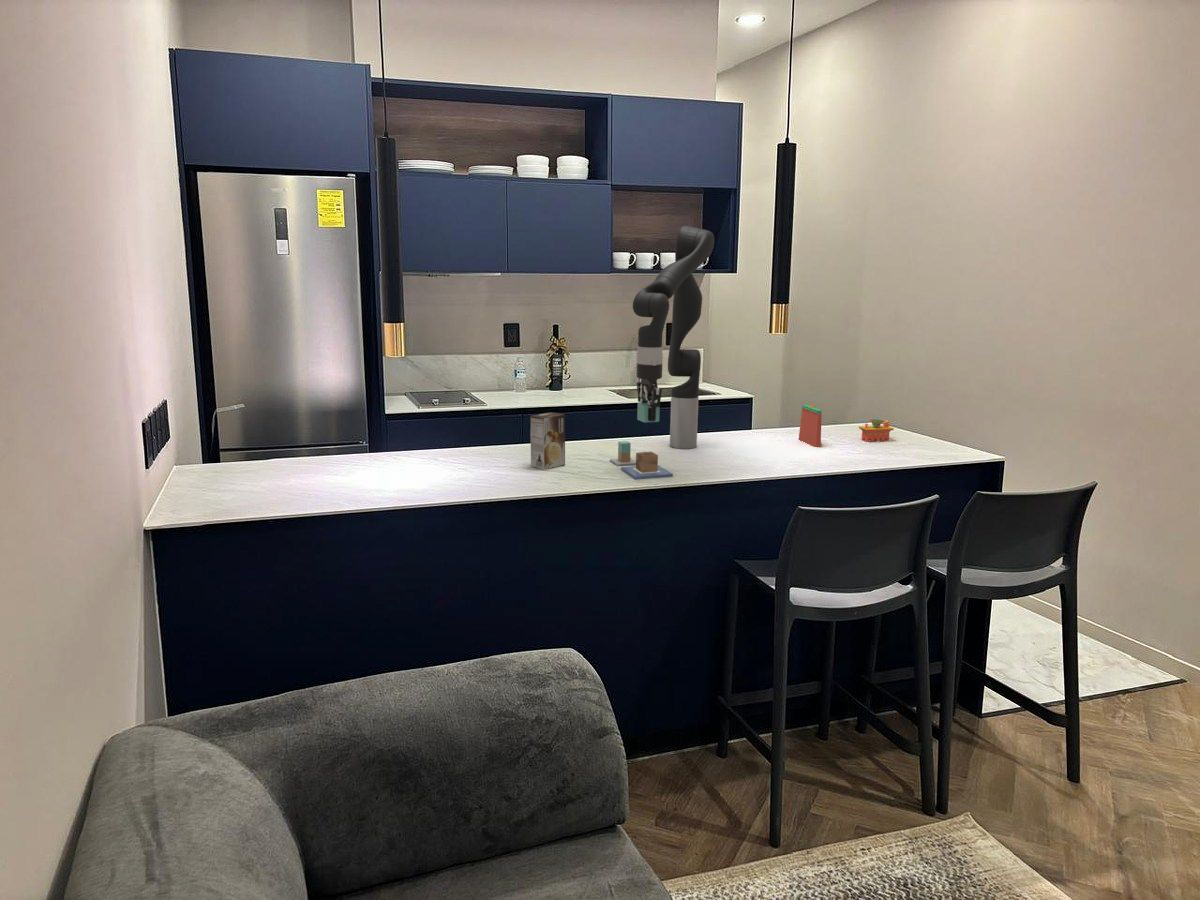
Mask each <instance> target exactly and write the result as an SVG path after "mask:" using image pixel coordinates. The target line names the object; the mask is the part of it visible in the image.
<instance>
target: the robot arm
mask: <svg viewBox="0 0 1200 900" xmlns="http://www.w3.org/2000/svg"><path fill="white" fill-rule="evenodd" d="M676 233H677V234H676V238H675V246H674V248H675V250H674V258H675V260H674V262H672V263H669V264H667V265H666V266H665V267H663V268H662V270H661V271H660V272H659V274H657V276H656V277H655V279H654V280H653V281H652V282H650V283H649V284H648V285H646V286H645V287H643V288H642V289H641V290H640V291H638V292H637V293H636V294H635V296H634V299H633V301H632V310H633V313H634V314H635V315H636V316H638V317H641V318H652V320H651V322H650V323H649V324H647V325H642V326H640V327H639V328H638V332H637V337H638V339H637V352H636V378H637V379H639V380H640V381H637V382H636V390H637V403H647V402H648V408H649V409H648V421H655V420H656V408H657V407H660V406H661V400H662V391H663V389H662V387H658V380H660V379H662V378H663V358H664V357H663V355H664V353H663V332H664V329H665V324H666V322H667V321H666V320H667V318H668V315H669V311H670V301H669V300H670V299H671V298H672V297H673V299H672V319H671V334H670V343H669V348H668V349H669V350H668V358H667V371H668V374H669V375H670V376H671V377H679V378H680V377H681V378H684V377H687V378H688V377H689V378H688V379H687V381H685V382H684V383H681V384H679V385H675V386H673V387H672V388H671V391H670V395H671V397H670V422H669V423H670V424H669V425H670V426H669V428H670V429H669V446H670V447H671V448H675V449H685V450H686V449H688V450H689V449H694V448H696V447H697V445H698V441H697V440H698V420H699V419H698V417H699V396H700V395H699V393H700V392H699V390H700V389H699V388H700V377H701V365H702V360H701V359H702V355H701V352H700V350H698V349H695V348H693V349H692V348H681V347H682V345H683V341H684V340H685V338H686V336H687V335H688V334H689V333H690V332H691V331H692V330H693V329H694V327H695V326H696V324H697V323H698V321H699V320H700V318H701V315H702V307H703V306H702V305H703V295H702V291H701V289H700V287H699V285H698V281H696V278H695V276H694V274H693V273H694V272H695V271H696V270H697V269H698V268H699V267H700V266H702V264H703V263H705V262H706V260H708V258H709V257H710V256H711V255H712V252H713V251H714V250H713V249H714V245H715V236H714V233H713V232H712V231H710V230H707V229H703V228H698V227H695V226H694V227H693V226H689V225H683V226H681V227H680V228H679V229H678V231H677V232H676ZM660 408H661V407H660Z"/></svg>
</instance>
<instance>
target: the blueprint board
mask: <svg viewBox="0 0 1200 900" xmlns="http://www.w3.org/2000/svg"><path fill="white" fill-rule="evenodd" d="M620 470H621V471H622V472H624V473H625V474H626V475H628V476H630V477H631V478H633V479H634V480H645V479H657V478H670V477H674V473H673V472H671V471H669V470H667V469H665V468H664V467H662V466H661V465H659V464H658V471H657V472H644V473H642V472H640V471H639V470H637V469H636V465H629V466H620Z"/></svg>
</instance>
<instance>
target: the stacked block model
mask: <svg viewBox="0 0 1200 900" xmlns="http://www.w3.org/2000/svg"><path fill="white" fill-rule="evenodd" d="M631 446H632V445H631V442H629V441H627V440H624V441H618V442H617V452H618V453H617V458H610V459H609V462H610V463H612V464H613V465H615V466H616V467H628V466H636V459H633V458H632V457H631V449H632V447H631Z"/></svg>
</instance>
